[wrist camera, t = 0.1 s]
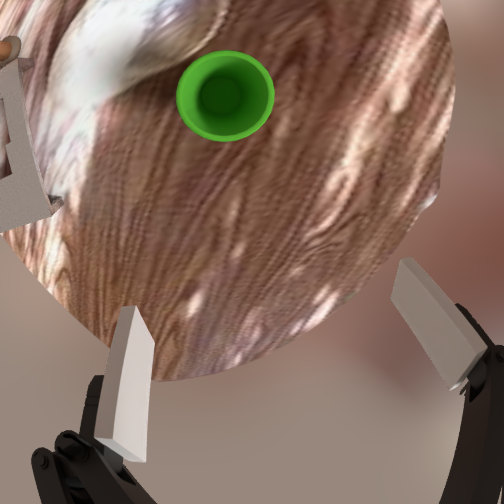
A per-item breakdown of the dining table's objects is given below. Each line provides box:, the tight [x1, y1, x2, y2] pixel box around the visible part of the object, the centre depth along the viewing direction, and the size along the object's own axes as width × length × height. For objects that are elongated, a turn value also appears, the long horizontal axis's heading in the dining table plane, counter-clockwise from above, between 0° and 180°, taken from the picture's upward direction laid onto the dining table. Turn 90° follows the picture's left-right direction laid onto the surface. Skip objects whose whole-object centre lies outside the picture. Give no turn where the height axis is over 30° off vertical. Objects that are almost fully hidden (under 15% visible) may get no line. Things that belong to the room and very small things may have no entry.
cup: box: [176, 50, 274, 142], centre depth 27 cm, size 9×9×11 cm
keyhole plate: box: [0, 58, 64, 233], centre depth 27 cm, size 24×14×4 cm, turn 6°
